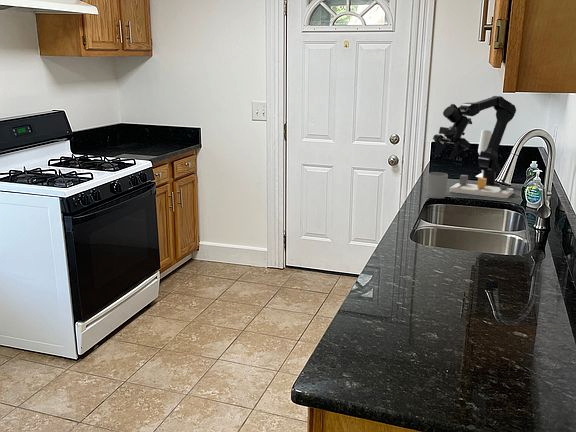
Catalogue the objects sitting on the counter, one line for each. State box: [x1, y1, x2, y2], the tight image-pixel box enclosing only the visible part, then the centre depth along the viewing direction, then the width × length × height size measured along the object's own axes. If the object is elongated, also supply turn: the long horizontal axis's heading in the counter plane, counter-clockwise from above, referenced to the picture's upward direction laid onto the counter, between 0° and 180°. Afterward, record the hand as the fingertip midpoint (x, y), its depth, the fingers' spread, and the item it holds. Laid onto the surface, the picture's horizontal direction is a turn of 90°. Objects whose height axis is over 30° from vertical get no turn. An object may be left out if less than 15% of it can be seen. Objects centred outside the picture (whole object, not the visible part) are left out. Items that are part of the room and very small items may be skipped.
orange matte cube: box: [476, 177, 487, 188], centre depth 250 cm, size 3×3×4 cm
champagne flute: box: [475, 129, 493, 178], centre depth 285 cm, size 7×7×24 cm
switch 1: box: [458, 174, 469, 185], centre depth 257 cm, size 3×3×4 cm
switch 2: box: [499, 184, 509, 189], centre depth 247 cm, size 3×3×4 cm
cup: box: [426, 171, 449, 199], centre depth 242 cm, size 8×8×10 cm
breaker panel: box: [448, 182, 514, 199], centre depth 251 cm, size 13×25×2 cm, turn 57°
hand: (442, 157), depth 253 cm, fingers open, 9 cm apart
